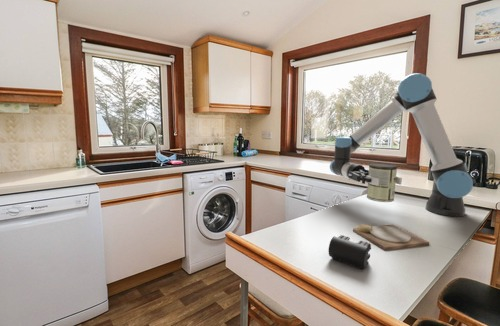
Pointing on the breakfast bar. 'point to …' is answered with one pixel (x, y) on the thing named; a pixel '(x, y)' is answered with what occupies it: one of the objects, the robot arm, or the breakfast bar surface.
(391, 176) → the coffee can
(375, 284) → the breakfast bar surface
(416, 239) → the carrier board
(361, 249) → the end cap
